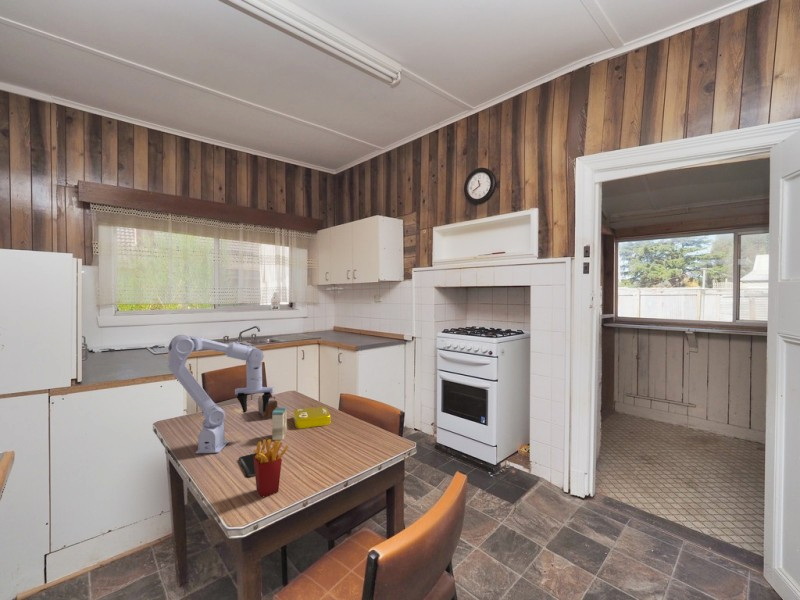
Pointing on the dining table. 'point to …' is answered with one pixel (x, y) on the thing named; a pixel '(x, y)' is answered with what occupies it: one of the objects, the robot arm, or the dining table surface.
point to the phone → (248, 464)
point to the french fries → (268, 467)
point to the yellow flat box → (311, 417)
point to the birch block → (279, 423)
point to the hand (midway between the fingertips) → (254, 411)
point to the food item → (270, 406)
